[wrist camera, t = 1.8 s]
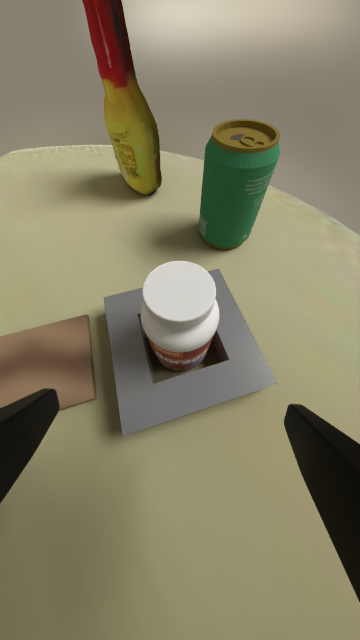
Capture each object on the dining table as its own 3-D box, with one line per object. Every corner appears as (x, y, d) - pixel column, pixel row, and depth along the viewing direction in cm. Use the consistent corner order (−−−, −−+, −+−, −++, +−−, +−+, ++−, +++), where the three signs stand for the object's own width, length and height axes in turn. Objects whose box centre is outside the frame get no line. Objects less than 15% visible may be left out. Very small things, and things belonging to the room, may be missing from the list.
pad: (96, 398, 19) (93, 398, 18) (-8, 431, 18) (-14, 432, 17) (89, 316, 23) (86, 314, 23) (4, 338, 22) (0, 336, 22)
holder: (264, 387, 19) (277, 383, 16) (131, 432, 18) (122, 436, 15) (214, 284, 25) (218, 268, 22) (112, 310, 24) (103, 297, 21)
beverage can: (222, 211, 32) (242, 111, 21) (258, 235, 29) (302, 133, 19) (188, 231, 30) (190, 131, 19) (223, 259, 27) (249, 160, 16)
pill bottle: (154, 374, 20) (126, 338, 10) (153, 323, 23) (130, 255, 13) (211, 369, 20) (238, 328, 10) (203, 319, 23) (219, 248, 13)
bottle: (112, 176, 38) (48, -36, 20) (139, 166, 39) (102, -39, 21) (141, 205, 33) (92, -35, 15) (170, 193, 35) (157, -38, 17)
